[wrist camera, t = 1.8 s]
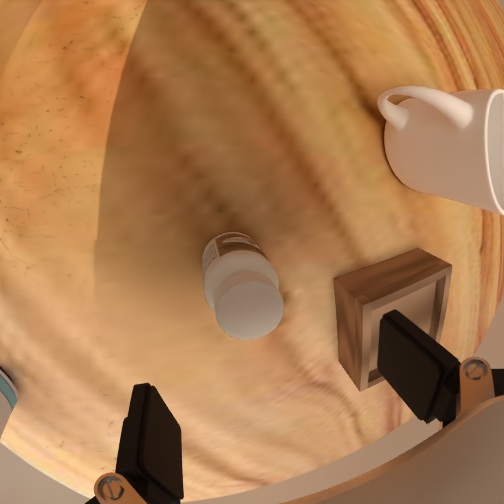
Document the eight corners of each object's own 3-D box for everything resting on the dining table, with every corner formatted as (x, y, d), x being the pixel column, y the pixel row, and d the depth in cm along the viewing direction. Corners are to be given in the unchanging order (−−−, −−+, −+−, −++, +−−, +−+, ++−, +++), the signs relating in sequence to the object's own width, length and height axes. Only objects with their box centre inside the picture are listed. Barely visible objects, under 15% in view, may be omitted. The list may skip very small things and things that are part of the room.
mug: (363, 60, 17) (458, 24, 7) (449, 130, 21) (534, 136, 11) (334, 146, 19) (440, 147, 9) (429, 204, 23) (517, 234, 13)
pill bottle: (269, 243, 21) (308, 287, 14) (246, 293, 22) (270, 355, 15) (215, 221, 20) (226, 258, 12) (193, 275, 20) (193, 335, 13)
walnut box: (331, 277, 23) (362, 305, 18) (416, 246, 24) (452, 265, 19) (337, 359, 27) (359, 391, 22) (410, 325, 28) (437, 349, 23)
